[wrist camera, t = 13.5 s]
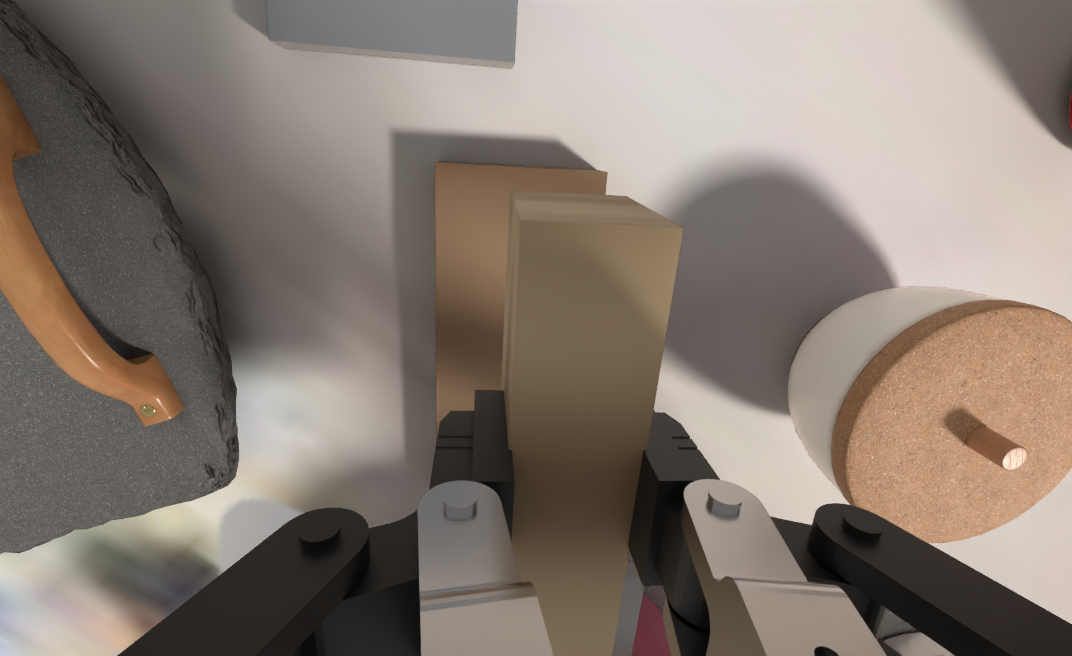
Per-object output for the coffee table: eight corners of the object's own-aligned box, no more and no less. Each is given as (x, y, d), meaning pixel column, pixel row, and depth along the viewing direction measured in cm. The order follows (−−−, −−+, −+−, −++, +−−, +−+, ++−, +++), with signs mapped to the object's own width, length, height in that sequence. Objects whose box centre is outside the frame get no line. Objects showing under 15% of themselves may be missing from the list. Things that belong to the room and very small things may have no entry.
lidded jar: (936, 230, 26) (1168, 274, 17) (950, 409, 30) (1147, 520, 21) (732, 305, 26) (857, 385, 18) (770, 473, 30) (890, 609, 21)
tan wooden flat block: (569, 475, 29) (575, 498, 27) (439, 476, 28) (436, 500, 26) (597, 170, 24) (607, 172, 22) (438, 161, 23) (435, 162, 21)
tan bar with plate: (615, 700, 17) (644, 832, 14) (431, 710, 17) (419, 851, 14) (705, 200, 11) (791, 233, 8) (425, 185, 11) (400, 214, 8)
